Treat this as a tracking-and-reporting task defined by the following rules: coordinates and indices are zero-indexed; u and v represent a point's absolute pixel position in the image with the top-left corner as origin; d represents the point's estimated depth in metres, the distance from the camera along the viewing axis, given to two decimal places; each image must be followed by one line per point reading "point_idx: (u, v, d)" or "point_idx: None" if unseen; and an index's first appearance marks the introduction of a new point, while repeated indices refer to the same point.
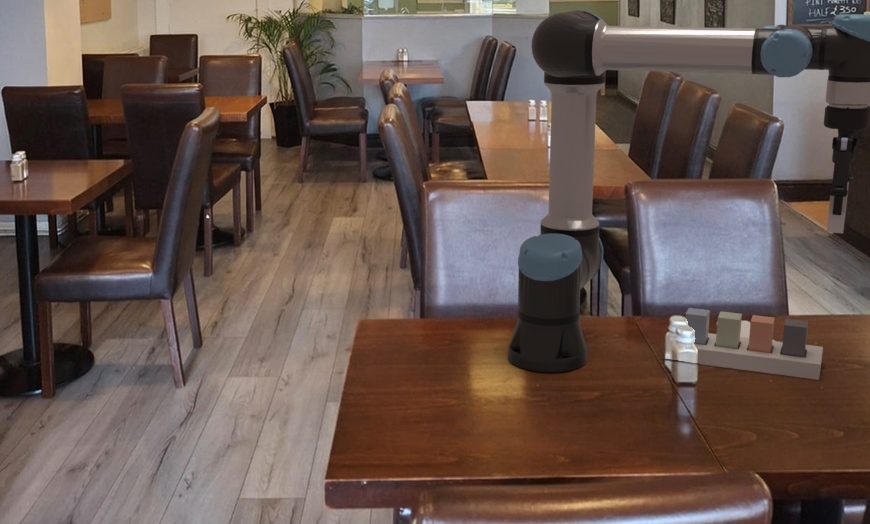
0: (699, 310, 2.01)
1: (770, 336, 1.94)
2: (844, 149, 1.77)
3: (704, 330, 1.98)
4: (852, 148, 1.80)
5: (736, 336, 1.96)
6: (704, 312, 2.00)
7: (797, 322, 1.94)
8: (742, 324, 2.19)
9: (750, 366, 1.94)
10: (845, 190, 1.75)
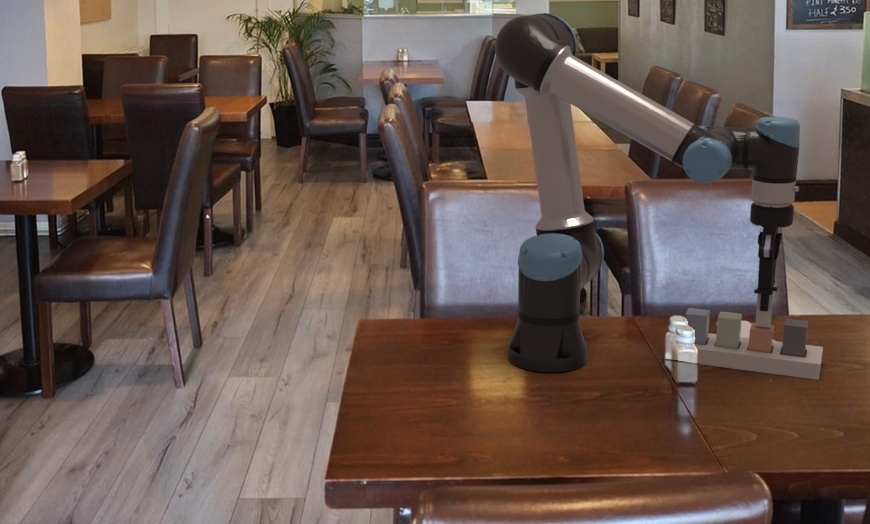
0: (699, 310, 2.01)
1: (769, 343, 1.94)
2: (767, 257, 1.87)
3: (704, 330, 1.98)
4: (776, 247, 1.90)
5: (736, 336, 1.96)
6: (704, 312, 2.00)
7: (797, 322, 1.94)
8: (742, 324, 2.19)
9: (750, 366, 1.94)
10: (770, 292, 1.90)
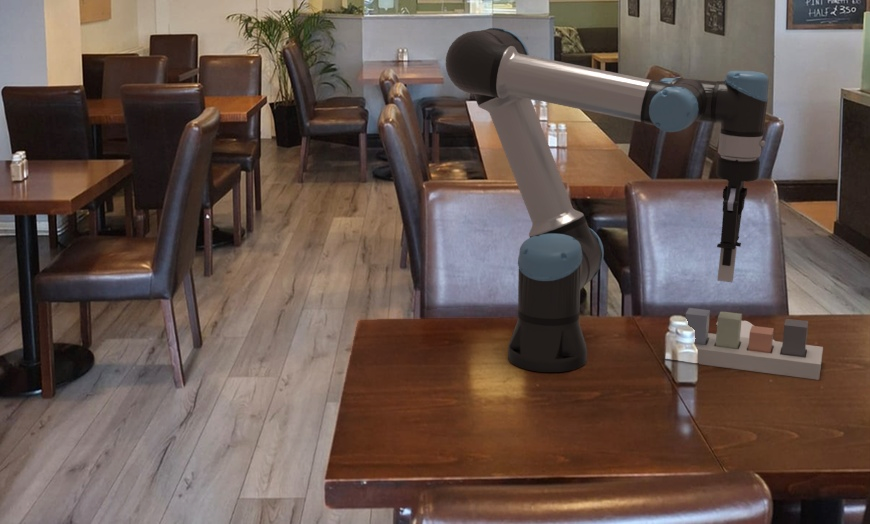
0: (699, 310, 2.01)
1: (769, 347, 1.94)
2: (731, 210, 1.88)
3: (704, 330, 1.98)
4: (740, 201, 1.90)
5: (736, 336, 1.96)
6: (704, 312, 2.00)
7: (797, 322, 1.94)
8: (742, 324, 2.19)
9: (750, 366, 1.94)
10: (732, 246, 1.91)
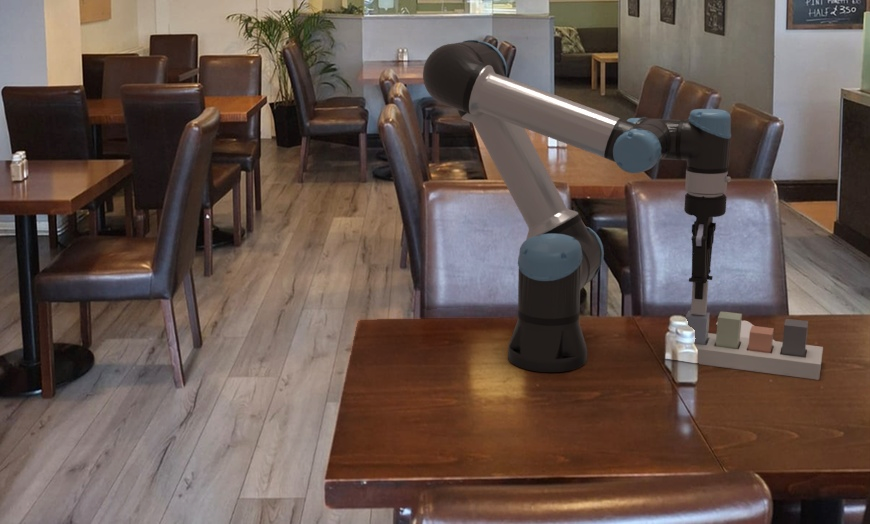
0: None
1: (769, 347, 1.94)
2: (699, 246, 1.91)
3: (704, 333, 1.99)
4: (709, 236, 1.94)
5: (736, 336, 1.96)
6: (704, 315, 2.00)
7: (797, 322, 1.94)
8: (742, 324, 2.18)
9: (750, 366, 1.94)
10: (703, 280, 1.94)
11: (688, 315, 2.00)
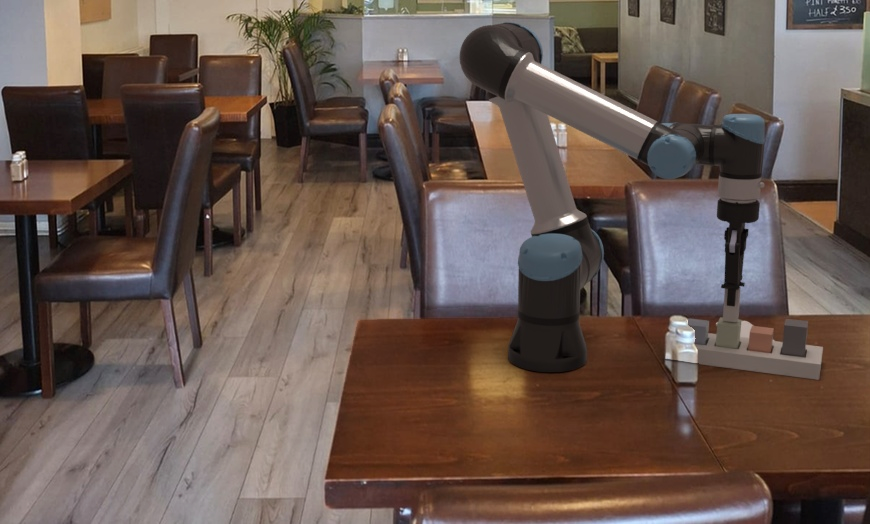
0: (699, 321, 2.01)
1: (769, 347, 1.94)
2: (733, 252, 1.89)
3: (703, 341, 1.99)
4: (742, 242, 1.92)
5: (736, 342, 1.97)
6: (703, 323, 2.00)
7: (797, 322, 1.94)
8: (741, 324, 2.18)
9: (750, 366, 1.94)
10: (736, 287, 1.92)
11: None
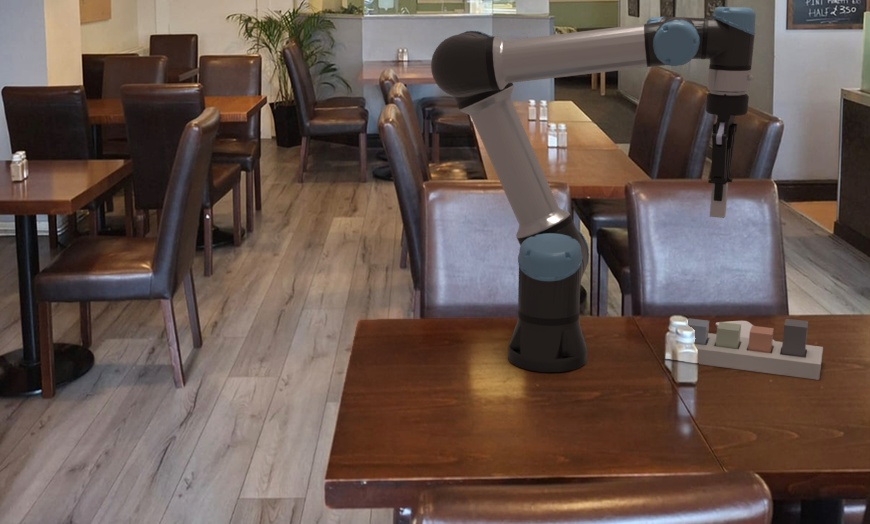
0: (699, 321, 2.01)
1: (769, 347, 1.94)
2: (720, 144, 1.91)
3: (703, 341, 1.99)
4: (730, 136, 1.93)
5: (735, 347, 1.97)
6: (703, 323, 2.00)
7: (797, 322, 1.94)
8: (741, 324, 2.18)
9: (750, 366, 1.94)
10: (723, 180, 1.94)
11: None
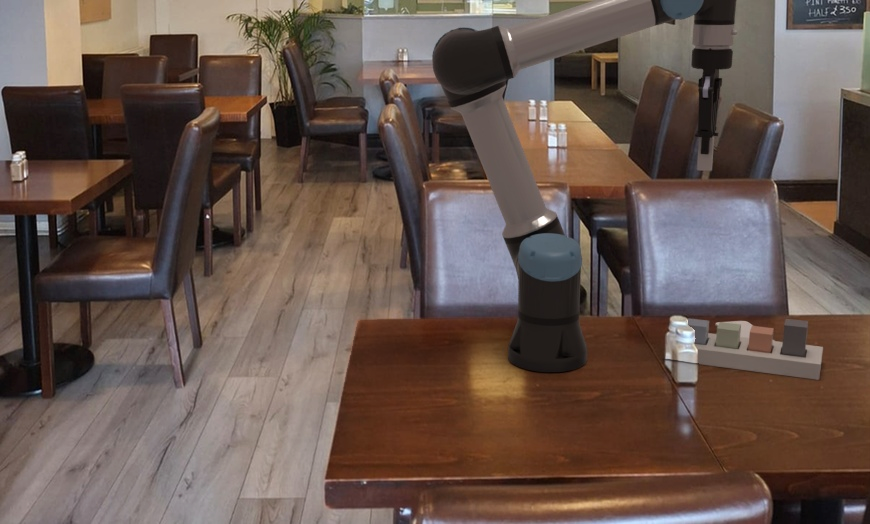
0: (699, 321, 2.01)
1: (769, 347, 1.94)
2: (706, 97, 1.95)
3: (703, 341, 1.99)
4: (716, 90, 1.97)
5: (735, 347, 1.97)
6: (703, 323, 2.00)
7: (797, 322, 1.94)
8: (741, 324, 2.18)
9: (750, 366, 1.94)
10: (709, 133, 1.98)
11: None
